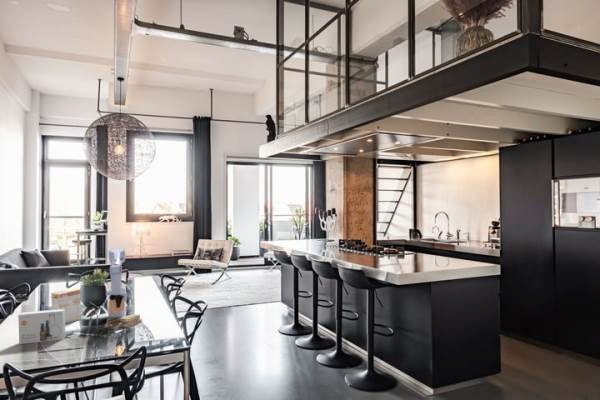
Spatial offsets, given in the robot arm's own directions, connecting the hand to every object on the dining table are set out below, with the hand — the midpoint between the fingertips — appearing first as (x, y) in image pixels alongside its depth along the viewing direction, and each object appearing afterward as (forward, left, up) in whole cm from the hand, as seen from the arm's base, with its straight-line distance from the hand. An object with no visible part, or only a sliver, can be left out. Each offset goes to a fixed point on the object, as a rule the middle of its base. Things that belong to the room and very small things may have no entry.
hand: (116, 307), depth 249 cm
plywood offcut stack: (+10, 0, -9) cm, 14 cm away
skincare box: (-17, -35, -11) cm, 41 cm away
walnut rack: (+5, 0, -10) cm, 11 cm away
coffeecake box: (-37, -3, -11) cm, 39 cm away
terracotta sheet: (0, 0, -3) cm, 3 cm away
